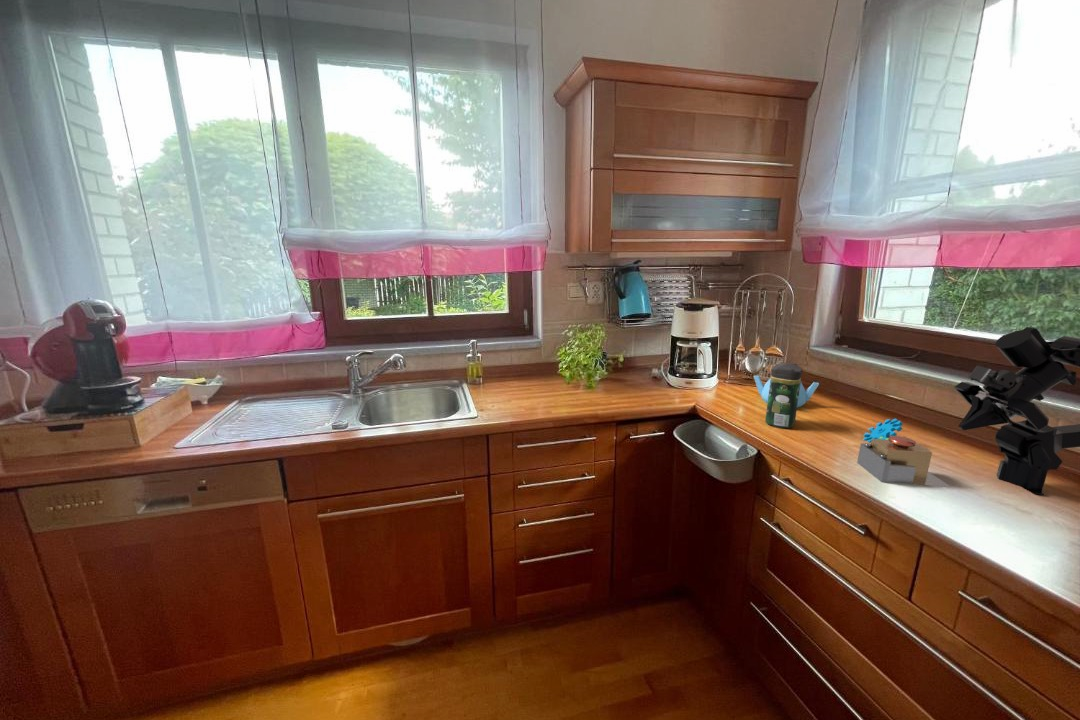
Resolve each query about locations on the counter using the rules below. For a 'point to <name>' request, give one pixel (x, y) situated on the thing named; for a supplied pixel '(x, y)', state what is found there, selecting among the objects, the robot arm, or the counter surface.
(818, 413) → the counter surface
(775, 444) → the counter surface
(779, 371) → the coffee jar
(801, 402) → the teapot
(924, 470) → the tan box
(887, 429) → the gear
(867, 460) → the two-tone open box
